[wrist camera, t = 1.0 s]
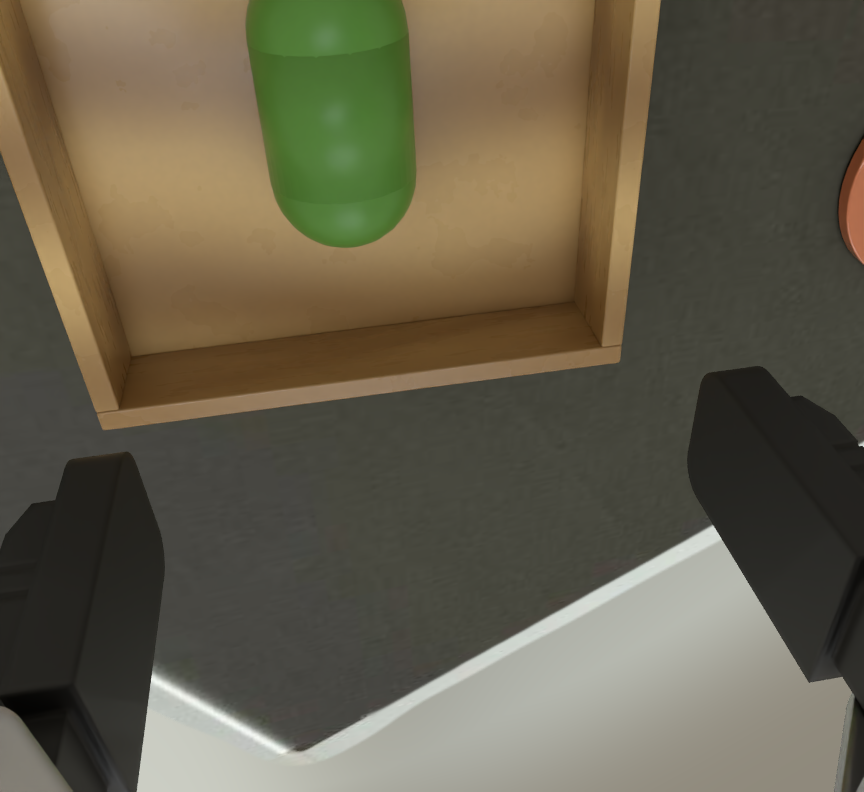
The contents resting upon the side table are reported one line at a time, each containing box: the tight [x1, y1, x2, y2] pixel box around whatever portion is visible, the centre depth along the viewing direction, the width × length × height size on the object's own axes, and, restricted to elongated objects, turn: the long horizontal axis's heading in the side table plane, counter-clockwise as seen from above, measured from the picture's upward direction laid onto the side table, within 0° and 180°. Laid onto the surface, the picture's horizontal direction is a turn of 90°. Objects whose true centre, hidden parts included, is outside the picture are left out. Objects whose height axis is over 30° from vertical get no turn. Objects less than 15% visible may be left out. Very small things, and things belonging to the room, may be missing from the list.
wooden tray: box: [0, 0, 661, 430], centre depth 22 cm, size 17×16×4 cm
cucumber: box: [245, 0, 417, 248], centre depth 21 cm, size 8×4×4 cm, turn 3°
